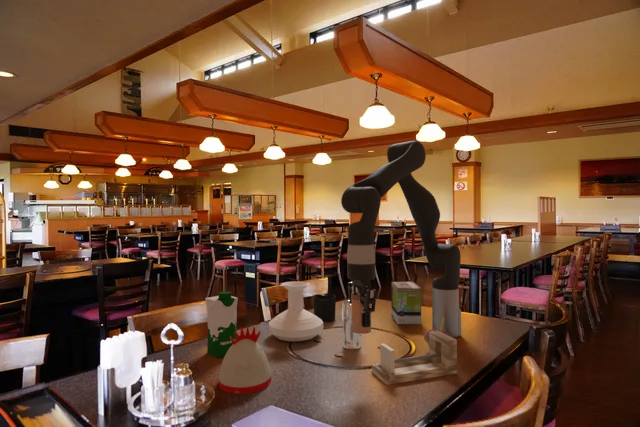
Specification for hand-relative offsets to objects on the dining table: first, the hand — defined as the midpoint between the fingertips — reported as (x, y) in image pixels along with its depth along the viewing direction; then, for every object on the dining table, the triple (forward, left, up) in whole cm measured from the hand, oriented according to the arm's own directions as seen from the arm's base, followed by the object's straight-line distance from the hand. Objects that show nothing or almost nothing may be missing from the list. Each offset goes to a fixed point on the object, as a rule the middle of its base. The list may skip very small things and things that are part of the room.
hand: (361, 323), depth 110 cm
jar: (0, 0, -2) cm, 2 cm away
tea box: (-42, -49, -16) cm, 66 cm away
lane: (-16, 0, -16) cm, 22 cm away
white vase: (+7, -43, -16) cm, 46 cm away
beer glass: (-8, -26, -16) cm, 31 cm away
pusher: (-16, 0, -14) cm, 22 cm away
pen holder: (-10, -60, -16) cm, 63 cm away
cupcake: (-32, -12, -16) cm, 38 cm away
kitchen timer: (+30, -10, -16) cm, 35 cm away
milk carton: (+34, -35, -16) cm, 51 cm away
